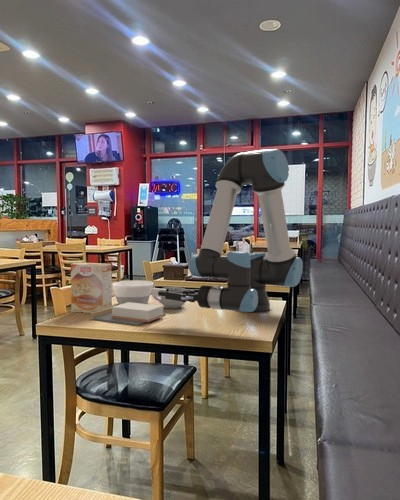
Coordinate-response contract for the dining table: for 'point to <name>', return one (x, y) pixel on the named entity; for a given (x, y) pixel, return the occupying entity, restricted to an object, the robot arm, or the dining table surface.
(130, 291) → the bowl
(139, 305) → the tile
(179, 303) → the teacup
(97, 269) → the coffeecake box
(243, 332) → the dining table surface
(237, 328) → the dining table surface
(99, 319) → the slate board
